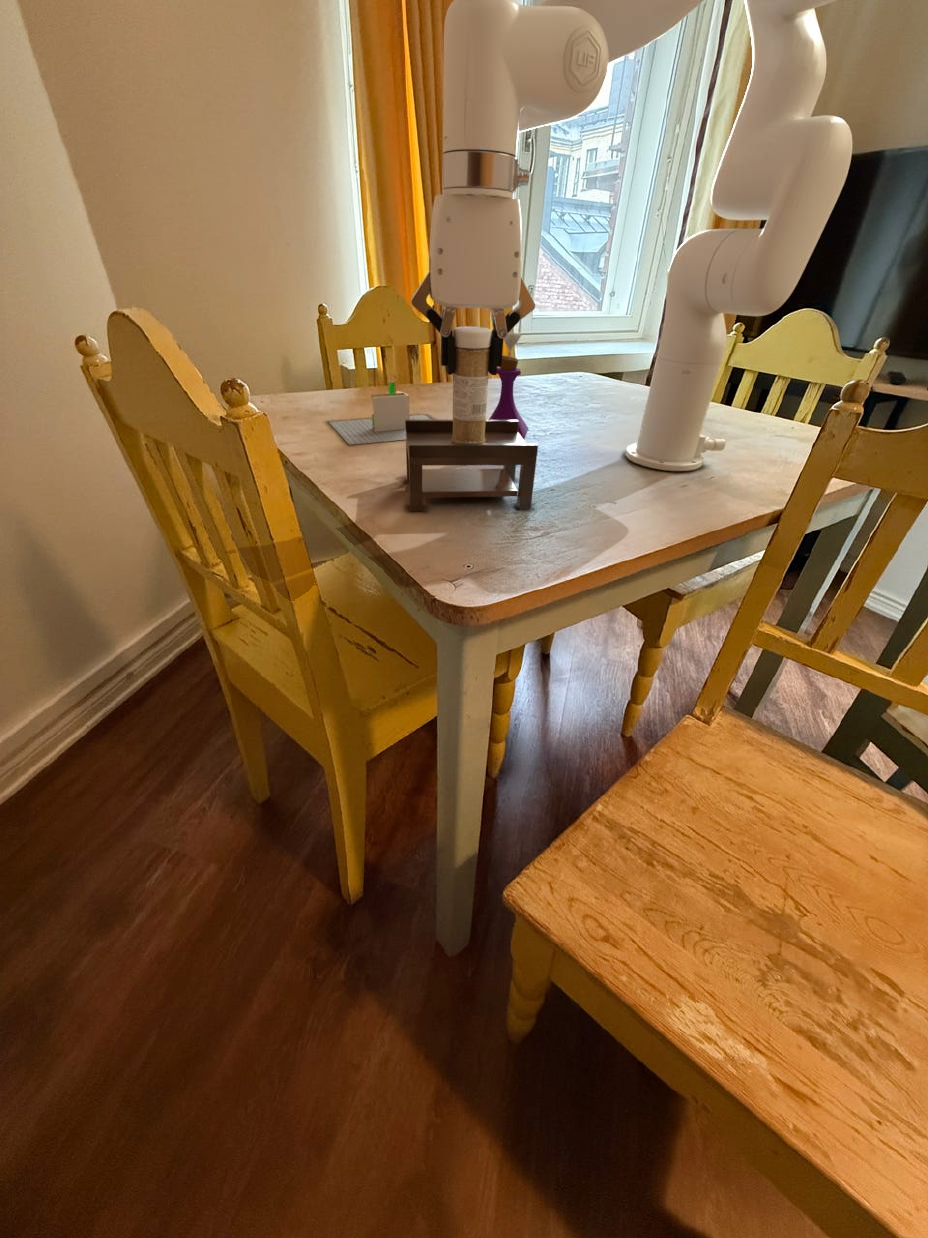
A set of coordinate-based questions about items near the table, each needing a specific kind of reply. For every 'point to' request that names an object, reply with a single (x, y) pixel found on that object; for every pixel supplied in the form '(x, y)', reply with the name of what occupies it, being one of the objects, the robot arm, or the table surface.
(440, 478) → the rack
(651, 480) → the table surface
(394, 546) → the table surface
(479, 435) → the sprinkles bottle
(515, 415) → the perfume bottle
